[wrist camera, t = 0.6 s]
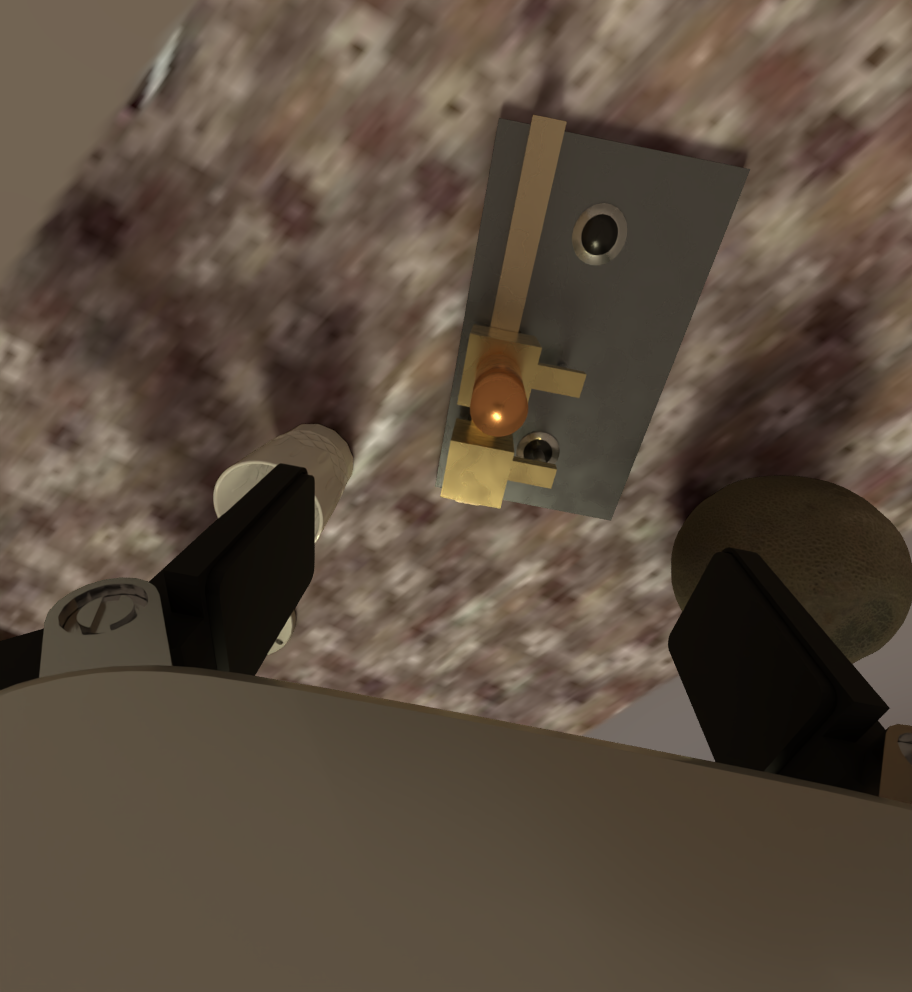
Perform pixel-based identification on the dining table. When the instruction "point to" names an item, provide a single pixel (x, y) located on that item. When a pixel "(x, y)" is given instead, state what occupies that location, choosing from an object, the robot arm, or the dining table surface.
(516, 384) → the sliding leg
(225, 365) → the dining table surface
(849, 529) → the dimpled olive sphere
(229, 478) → the white cup
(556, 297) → the grey sliding latch board
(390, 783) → the robot arm
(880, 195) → the dining table surface
